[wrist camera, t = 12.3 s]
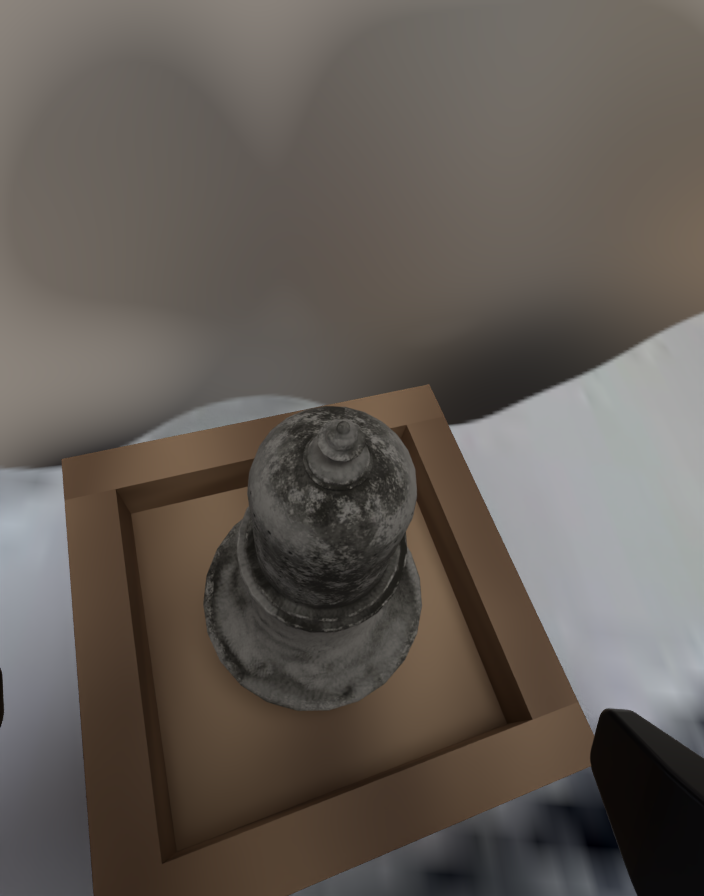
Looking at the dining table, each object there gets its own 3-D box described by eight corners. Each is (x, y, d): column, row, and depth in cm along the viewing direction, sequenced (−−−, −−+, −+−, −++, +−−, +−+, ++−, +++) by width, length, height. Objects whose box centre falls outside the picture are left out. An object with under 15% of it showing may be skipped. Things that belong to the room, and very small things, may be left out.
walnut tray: (133, 936, 14) (99, 976, 11) (90, 497, 20) (61, 459, 17) (557, 759, 17) (605, 760, 15) (413, 426, 23) (429, 384, 20)
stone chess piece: (197, 705, 16) (32, 616, 6) (240, 522, 19) (184, 242, 9) (391, 731, 16) (579, 691, 6) (404, 546, 19) (543, 301, 9)
